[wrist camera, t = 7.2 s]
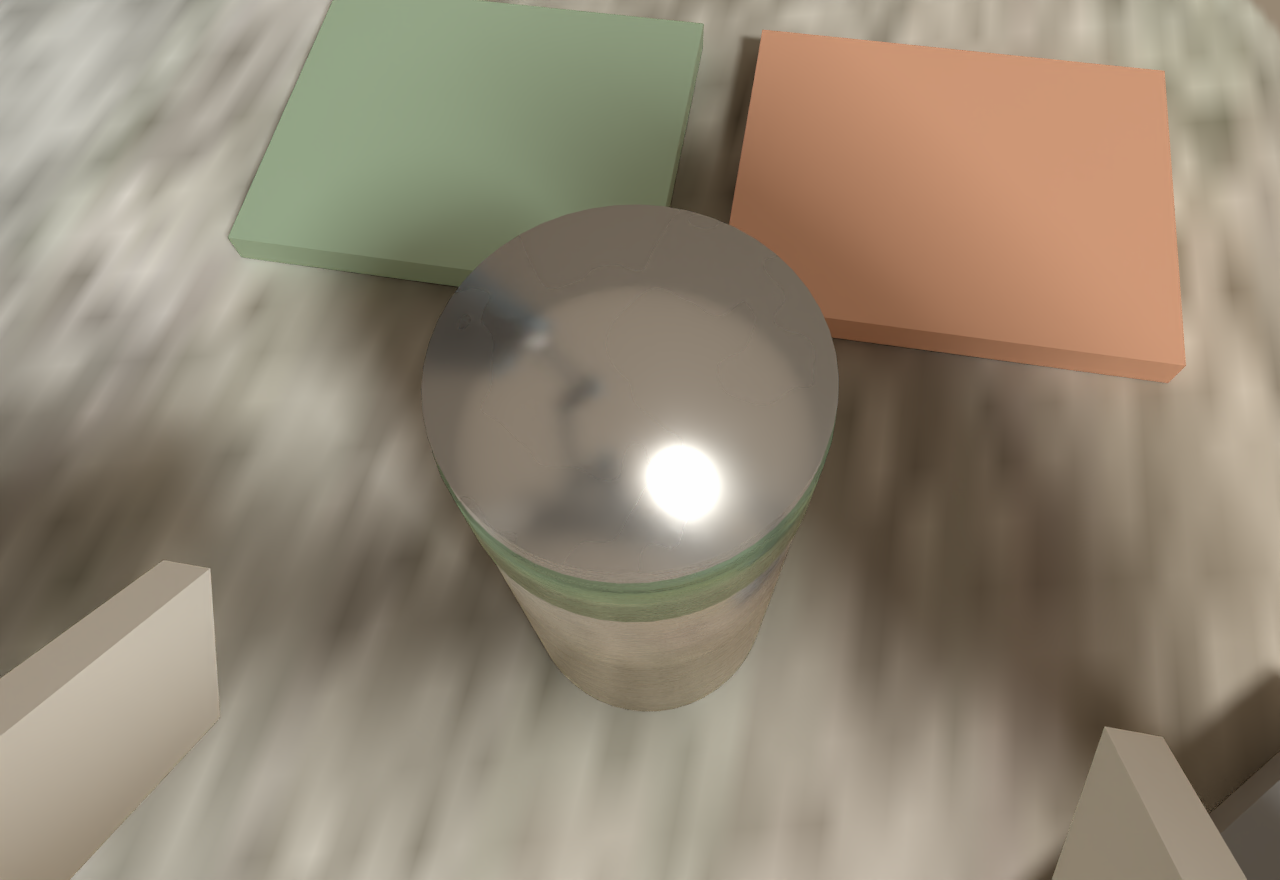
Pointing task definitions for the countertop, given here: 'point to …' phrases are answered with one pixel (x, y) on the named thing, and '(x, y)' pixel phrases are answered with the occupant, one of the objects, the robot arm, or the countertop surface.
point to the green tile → (465, 132)
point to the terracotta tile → (969, 200)
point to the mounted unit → (1254, 823)
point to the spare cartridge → (634, 438)
